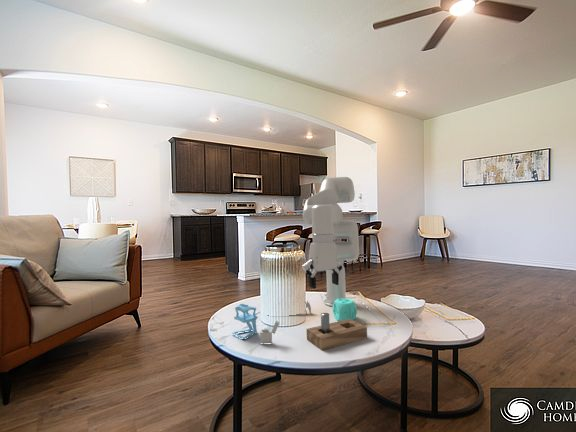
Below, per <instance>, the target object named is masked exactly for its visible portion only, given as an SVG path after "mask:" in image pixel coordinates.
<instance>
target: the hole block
mask: <svg viewBox="0 0 576 432" xmlns="http://www.w3.org/2000/svg"><path fill="white" fill-rule="evenodd" d="M329 325H330V333H326V334H323V333H321V325H317V326H314V327H309V328H306V340H307V341H308V342H309V343H311V344H312V345H314V347H316V348H318V349H320V350H321V351H325V350H327V349H331V348H335V347H339V346H342V345H346V344H350V343H353V342H357V341H360V340H364V339H367V338H368V327H367V326H366V325H364V324H361V323H359V322H357V321H356V320H351V319H347V320H343V321H338V320H337V321H335V322H331V323H330V322H329Z"/></svg>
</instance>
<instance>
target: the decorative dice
mask: <svg viewBox="0 0 576 432" xmlns="http://www.w3.org/2000/svg"><path fill="white" fill-rule="evenodd" d="M332 313H333V316H334V319H335V320H336V321H337V322H338V321H343V320H347V319H351V320H353V321H355V319H356V317H357V315H358V311H357V305H356V302H355V301H354V300H353V299H351V298H340V299H337V300H335V301H334V303H333V306H332Z"/></svg>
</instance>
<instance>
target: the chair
mask: <svg viewBox="0 0 576 432" xmlns="http://www.w3.org/2000/svg"><path fill="white" fill-rule="evenodd" d="M234 309H235V312H236V313H235V314H236V316H233V317H234V320H236V321H239V322H241V323H244V324H245V323H246V325H247V329H243V330H238V331H233V332H232V333H231V335H232V334H235V335H237V336H238V337H240V338H243V339H245V338H247V337H249V336H251V335H252V334H254V333H255V332H257V333H258V330H257V319H258V315H256V310H257V307H256V306H255V307H253V306H250V305H249V304H245V303H240V304H238V305H236V306H235V307H234ZM249 311H253V312H252V313H249ZM239 312H241V313H242V314H239ZM251 324H252V325H251ZM251 330H253V331H252V332H248V334H246V335H245V336H241V334H236V333H238V332H245V331H251ZM255 334H256V333H255ZM255 334H254V335H255ZM252 336H253V335H252ZM252 336H251V337H252ZM249 338H250V337H249Z"/></svg>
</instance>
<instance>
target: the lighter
mask: <svg viewBox="0 0 576 432" xmlns="http://www.w3.org/2000/svg"><path fill="white" fill-rule="evenodd" d="M279 325H280V321H278V320H275V323H274V325H273V327H272V329H271V330H270V329H269V328H268V327H267V328H266V327H265V328H262V330H260V332H259V342H260V343H272V344H273V335H274V334H276V331H277V329H278V328H279Z"/></svg>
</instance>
